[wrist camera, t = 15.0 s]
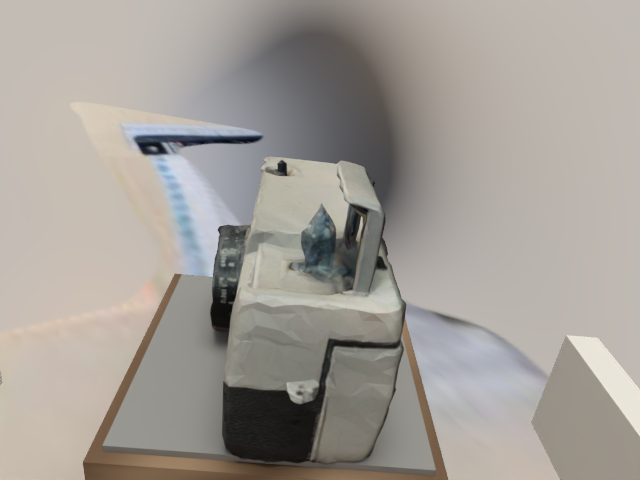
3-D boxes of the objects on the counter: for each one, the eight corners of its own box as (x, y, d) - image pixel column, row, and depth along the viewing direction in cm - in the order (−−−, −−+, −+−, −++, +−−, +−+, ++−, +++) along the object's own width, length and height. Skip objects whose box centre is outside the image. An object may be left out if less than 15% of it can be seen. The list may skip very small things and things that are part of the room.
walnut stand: (87, 501, 19) (82, 455, 18) (175, 303, 30) (174, 269, 29) (438, 524, 19) (452, 483, 18) (392, 322, 31) (399, 290, 30)
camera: (230, 261, 31) (238, 91, 27) (355, 273, 31) (382, 108, 27) (163, 474, 17) (155, 200, 13) (383, 491, 18) (447, 230, 13)
